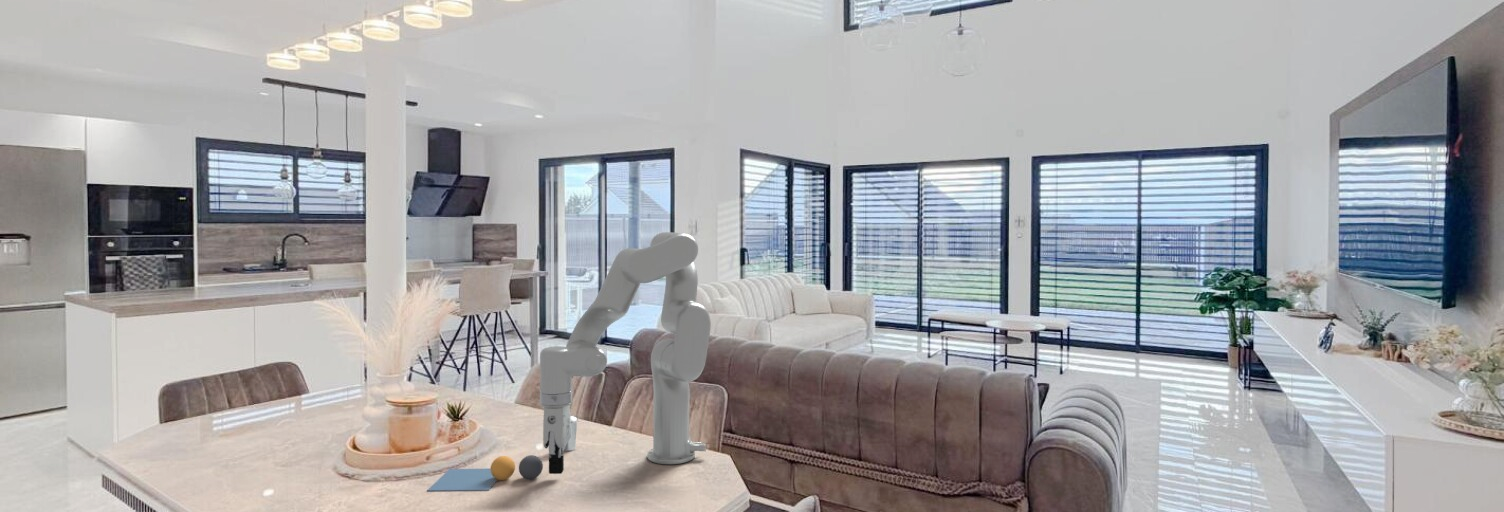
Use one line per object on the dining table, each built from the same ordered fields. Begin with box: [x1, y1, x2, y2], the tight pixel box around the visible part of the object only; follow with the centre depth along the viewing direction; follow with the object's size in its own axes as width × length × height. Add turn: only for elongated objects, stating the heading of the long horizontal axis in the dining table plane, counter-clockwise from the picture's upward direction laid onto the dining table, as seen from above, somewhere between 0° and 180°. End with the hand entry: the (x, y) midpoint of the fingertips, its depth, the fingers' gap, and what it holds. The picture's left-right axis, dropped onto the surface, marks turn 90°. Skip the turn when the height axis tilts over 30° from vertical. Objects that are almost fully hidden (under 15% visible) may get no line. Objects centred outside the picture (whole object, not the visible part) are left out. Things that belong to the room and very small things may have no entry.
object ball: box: [490, 455, 516, 481], centre depth 170 cm, size 6×6×6 cm
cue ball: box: [518, 454, 544, 480], centre depth 171 cm, size 6×6×6 cm
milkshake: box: [563, 414, 580, 452], centre depth 193 cm, size 4×5×10 cm
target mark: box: [426, 468, 499, 492], centre depth 170 cm, size 14×14×1 cm
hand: (556, 472), depth 171 cm, fingers closed
